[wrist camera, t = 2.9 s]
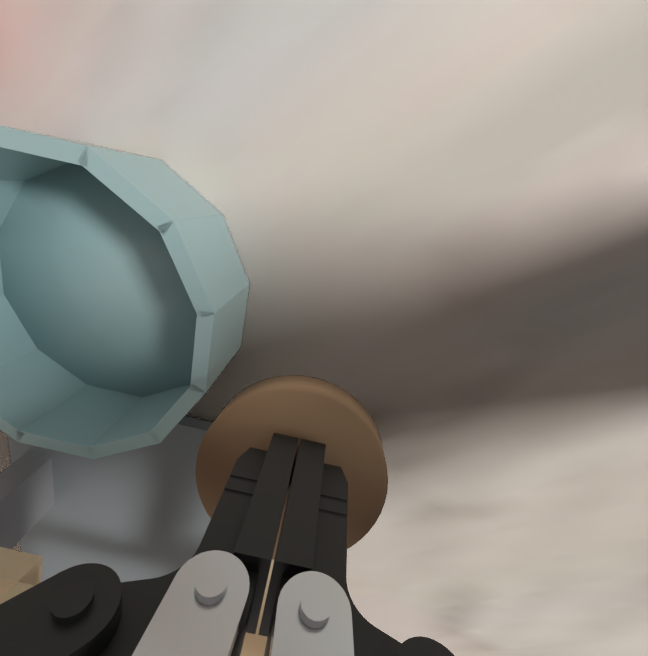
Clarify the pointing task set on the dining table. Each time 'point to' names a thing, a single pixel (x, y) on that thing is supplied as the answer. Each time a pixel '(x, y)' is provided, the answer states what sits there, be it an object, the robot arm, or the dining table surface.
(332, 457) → the lever
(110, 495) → the stand
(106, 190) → the bowl
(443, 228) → the dining table surface
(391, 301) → the dining table surface
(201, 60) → the dining table surface
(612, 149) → the dining table surface
